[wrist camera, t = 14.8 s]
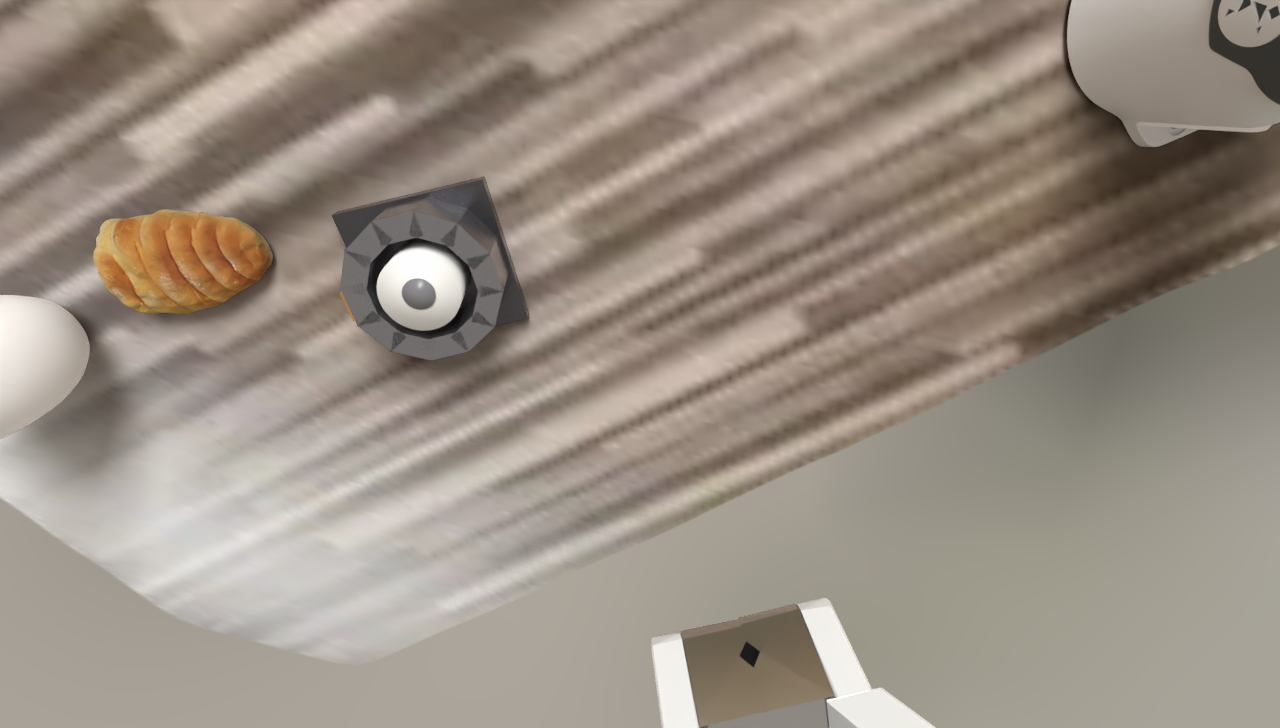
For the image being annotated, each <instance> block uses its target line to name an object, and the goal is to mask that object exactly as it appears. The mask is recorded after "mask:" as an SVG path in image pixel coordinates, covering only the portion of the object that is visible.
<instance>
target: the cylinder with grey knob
mask: <svg viewBox="0 0 1280 728" xmlns="http://www.w3.org/2000/svg"><path fill="white" fill-rule="evenodd" d="M470 281H471V271H470V268H469V265H468V264H466V263H465V262H464V261H463V260H462V259H461V258H460V257H459V256H457V255H456V254H455V253H454V252H453V251H452V250H451V249H450V248H448V247H447V246H446V245H442V244H439V243H435V242H431V241H428V240H424V239H420V238H412V239H409V240H408V241H407V242H405V243H404V244H403V245H402V247H401V248H400V249H399V250H398V251H397V253H396V254H395V255H394V256H393V257H392V258H391V260H390V261H389V262H388V263H387V264H386V266H385V267H384V268H383V269H382V271H381V272H380V274H379V277H378V280H377V295H378V299H379V302H380V304H381V306H382V308H383V309H384V311H385V312H386V313H387V314H388V315H389V316H390V317H391V318H392V319H393V320H394V321H396V322H397V323H399V324H401V325H402V326H405V327H407V328H410V329H414V330H421V331H427V330H434V329H437V328H440V327H442V326H444V325H446V324H447V323H449V322H450V321H451V320H452V319H453V318H454V317H455V315H456V314H457V312H458V310H459V307H460V305H461V303H462V300H463V298H464V296H465V293H466V291H467V289H468V286H469V284H470Z"/></svg>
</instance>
